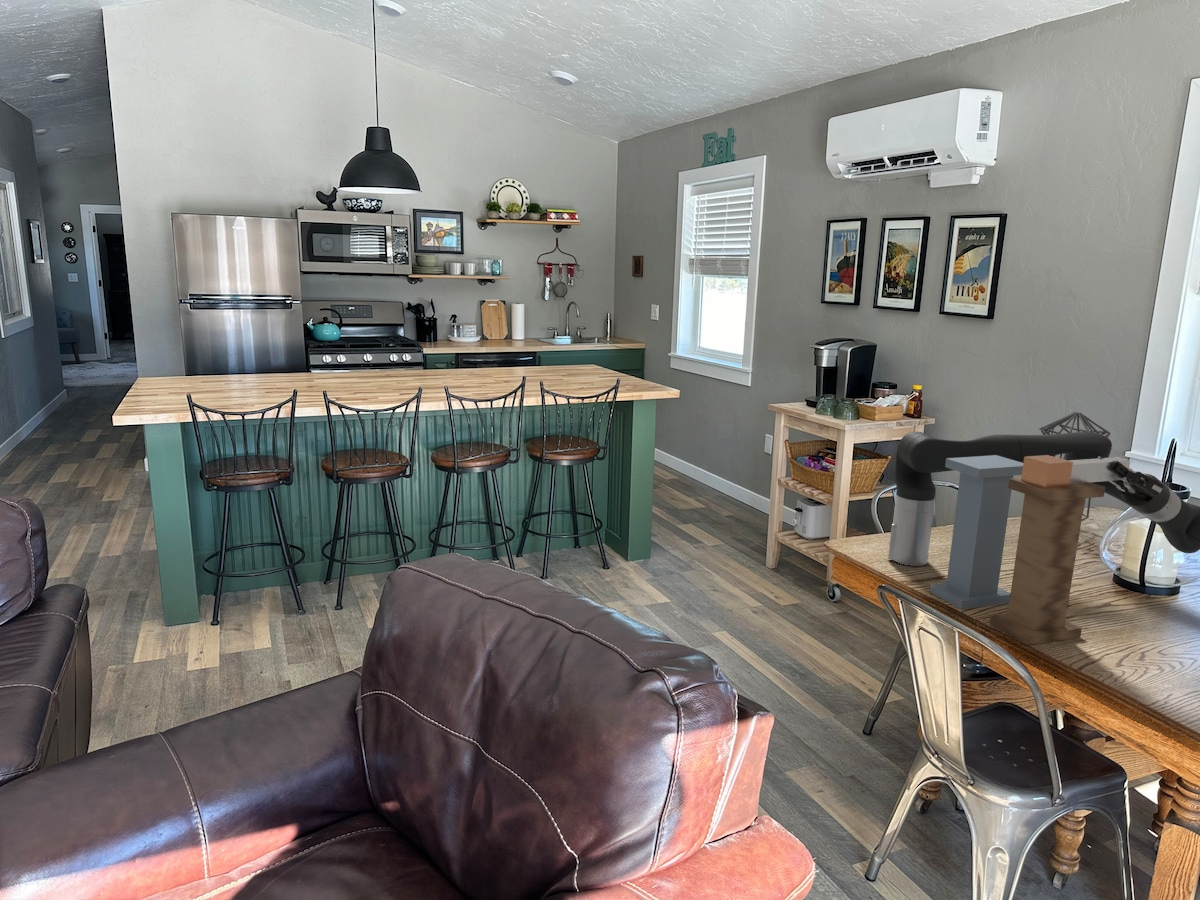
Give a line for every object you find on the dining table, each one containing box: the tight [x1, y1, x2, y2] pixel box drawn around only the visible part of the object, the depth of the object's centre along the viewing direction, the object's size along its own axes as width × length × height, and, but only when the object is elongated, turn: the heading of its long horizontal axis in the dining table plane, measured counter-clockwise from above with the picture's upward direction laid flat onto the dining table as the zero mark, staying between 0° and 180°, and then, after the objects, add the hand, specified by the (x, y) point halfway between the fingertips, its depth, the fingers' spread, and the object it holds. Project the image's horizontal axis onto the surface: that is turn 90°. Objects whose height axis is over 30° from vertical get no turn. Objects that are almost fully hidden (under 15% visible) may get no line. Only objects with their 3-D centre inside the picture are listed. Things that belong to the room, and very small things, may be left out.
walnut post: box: [988, 477, 1105, 646], centre depth 165 cm, size 14×10×32 cm
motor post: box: [929, 455, 1023, 610], centre depth 182 cm, size 14×10×32 cm
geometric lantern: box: [1037, 411, 1111, 522], centre depth 233 cm, size 16×16×35 cm
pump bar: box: [1020, 455, 1131, 489], centre depth 163 cm, size 23×6×5 cm, turn 108°
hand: (1104, 462), depth 165 cm, fingers closed on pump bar, 3 cm apart
